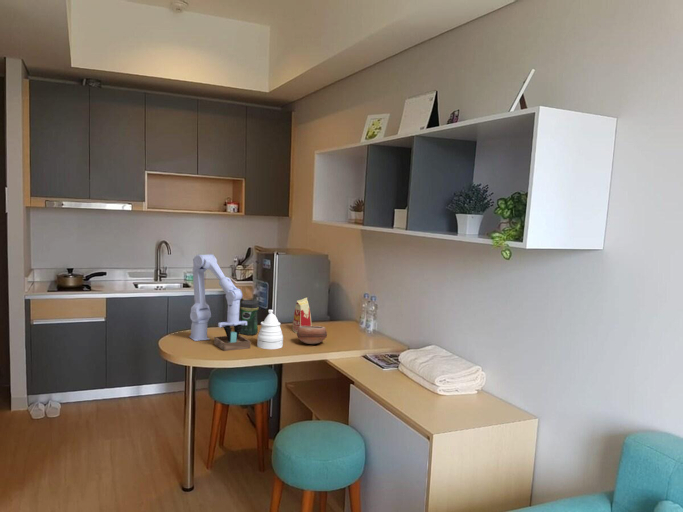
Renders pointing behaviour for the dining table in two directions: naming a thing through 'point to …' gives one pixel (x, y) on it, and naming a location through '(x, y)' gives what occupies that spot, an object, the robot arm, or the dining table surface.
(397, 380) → the dining table surface
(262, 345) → the honey pot
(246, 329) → the coffee jar
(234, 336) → the peg
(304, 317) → the milk carton
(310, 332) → the bowl
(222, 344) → the socket box
